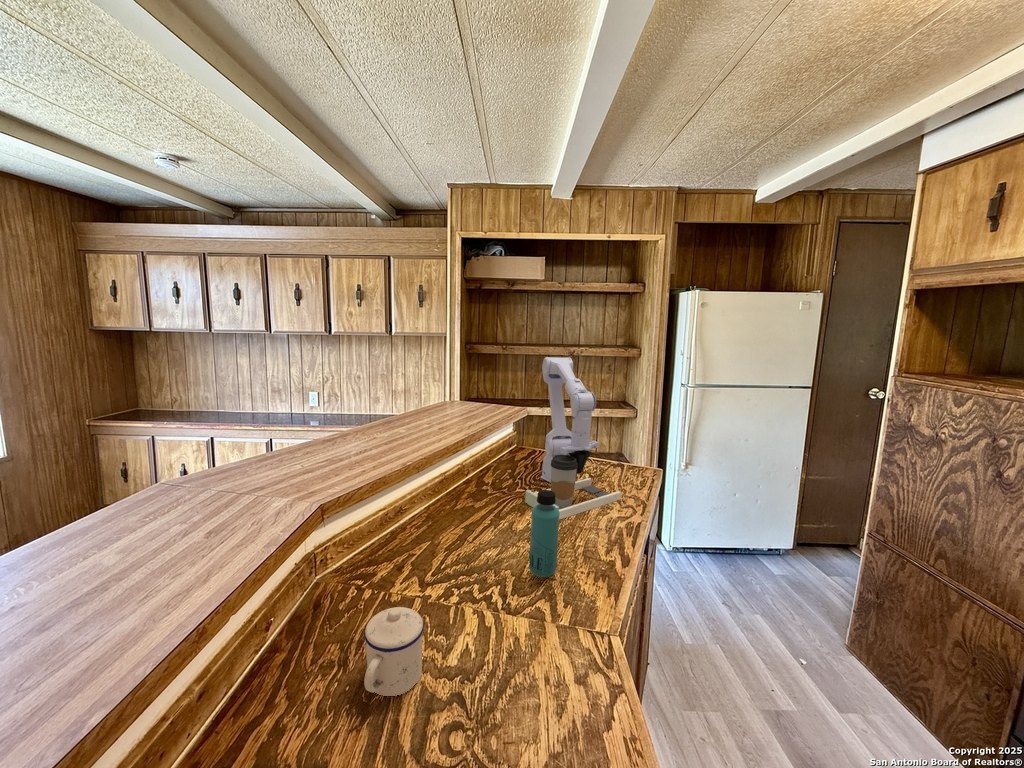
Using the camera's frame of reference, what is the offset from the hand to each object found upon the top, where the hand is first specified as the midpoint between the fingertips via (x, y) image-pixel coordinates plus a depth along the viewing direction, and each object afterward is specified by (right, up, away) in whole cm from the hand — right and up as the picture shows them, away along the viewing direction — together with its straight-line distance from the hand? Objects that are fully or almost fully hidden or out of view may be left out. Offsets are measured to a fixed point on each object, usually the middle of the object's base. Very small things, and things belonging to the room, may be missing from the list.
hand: (577, 472), depth 139 cm
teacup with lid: (-40, -20, -69) cm, 82 cm away
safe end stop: (-12, -10, -7) cm, 17 cm away
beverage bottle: (-14, -16, -39) cm, 44 cm away
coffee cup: (-5, -10, -2) cm, 11 cm away
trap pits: (+8, -8, +8) cm, 14 cm away
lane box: (-1, -9, +1) cm, 9 cm away
